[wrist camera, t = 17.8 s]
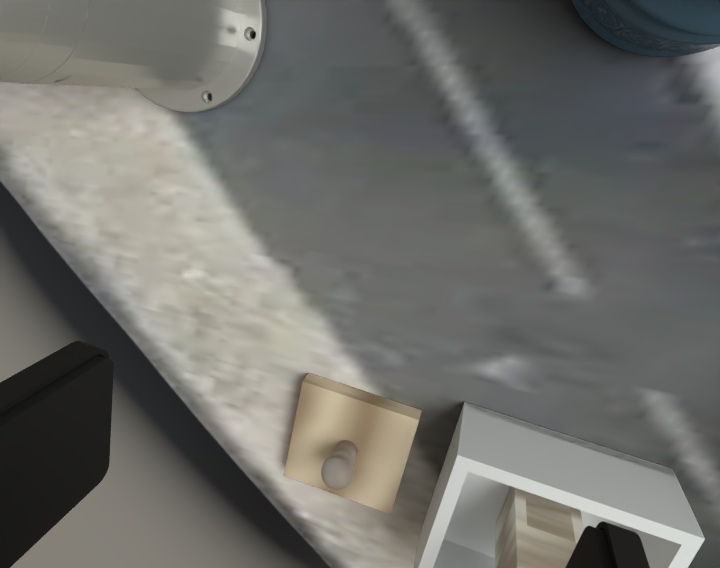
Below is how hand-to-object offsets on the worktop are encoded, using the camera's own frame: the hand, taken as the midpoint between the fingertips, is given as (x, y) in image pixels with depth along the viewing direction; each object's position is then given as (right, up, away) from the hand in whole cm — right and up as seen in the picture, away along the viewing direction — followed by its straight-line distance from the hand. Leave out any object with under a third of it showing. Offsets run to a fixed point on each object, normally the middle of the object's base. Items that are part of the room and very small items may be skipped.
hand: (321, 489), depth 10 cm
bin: (+15, -14, +34) cm, 40 cm away
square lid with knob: (0, -10, +36) cm, 38 cm away
